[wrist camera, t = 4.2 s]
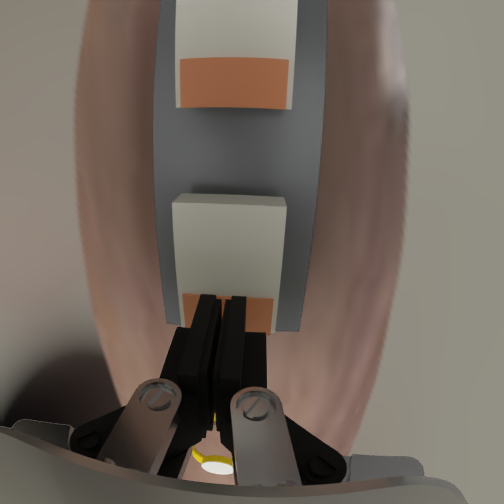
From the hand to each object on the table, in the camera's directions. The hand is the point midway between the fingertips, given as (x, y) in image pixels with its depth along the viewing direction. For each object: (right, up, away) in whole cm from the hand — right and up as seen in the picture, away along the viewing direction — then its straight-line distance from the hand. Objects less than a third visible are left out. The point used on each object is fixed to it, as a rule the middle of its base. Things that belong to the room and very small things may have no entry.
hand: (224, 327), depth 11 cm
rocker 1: (+1, +11, -2) cm, 11 cm away
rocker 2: (0, +2, +1) cm, 3 cm away
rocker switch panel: (0, +7, +5) cm, 9 cm away
